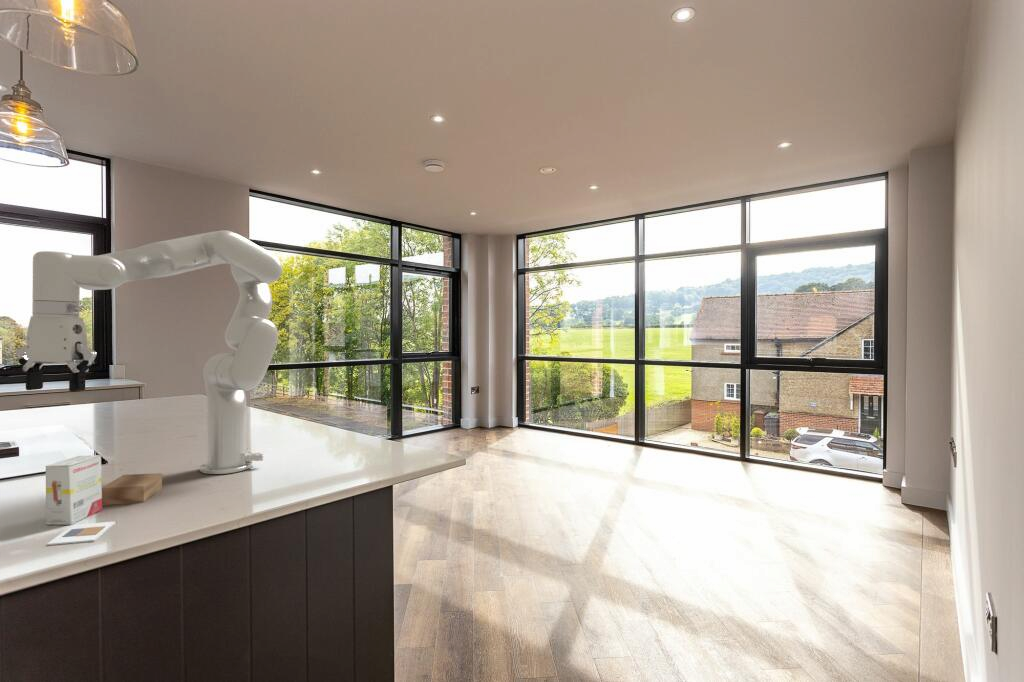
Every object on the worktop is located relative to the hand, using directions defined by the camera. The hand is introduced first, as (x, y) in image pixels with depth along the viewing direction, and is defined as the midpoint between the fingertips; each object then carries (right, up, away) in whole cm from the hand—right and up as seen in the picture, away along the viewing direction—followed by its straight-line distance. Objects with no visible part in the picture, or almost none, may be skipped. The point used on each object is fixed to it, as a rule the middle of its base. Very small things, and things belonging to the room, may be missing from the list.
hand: (55, 390), depth 110 cm
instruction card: (+17, -26, -14) cm, 34 cm away
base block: (+11, -25, +7) cm, 29 cm away
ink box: (+9, -26, -6) cm, 28 cm away
